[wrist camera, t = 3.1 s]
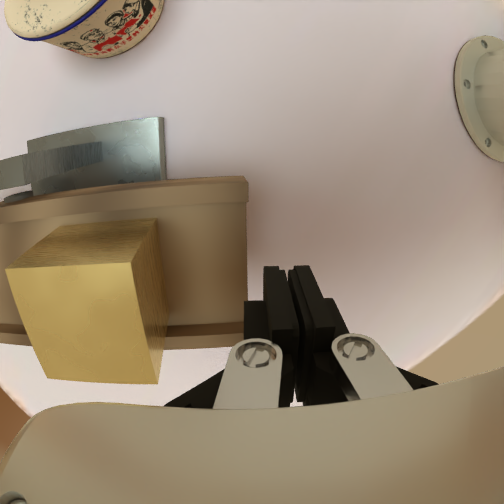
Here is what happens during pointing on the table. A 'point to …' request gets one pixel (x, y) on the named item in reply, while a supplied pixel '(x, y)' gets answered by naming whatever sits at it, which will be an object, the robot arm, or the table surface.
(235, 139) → the table surface
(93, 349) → the block
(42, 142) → the pivot stand
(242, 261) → the balance beam
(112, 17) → the teacup with lid
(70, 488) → the robot arm
